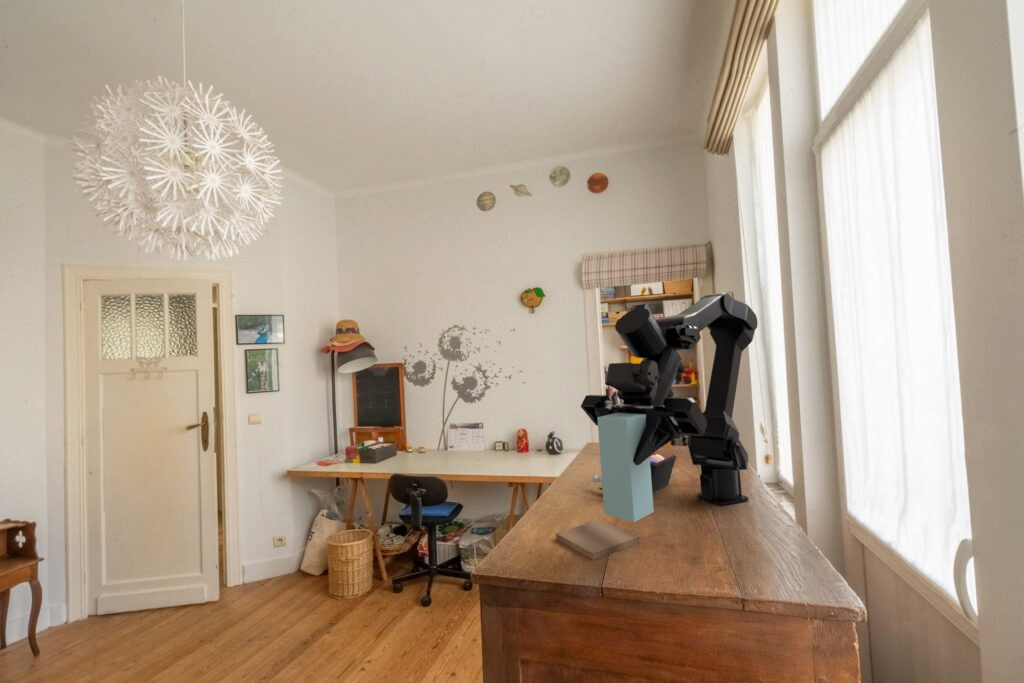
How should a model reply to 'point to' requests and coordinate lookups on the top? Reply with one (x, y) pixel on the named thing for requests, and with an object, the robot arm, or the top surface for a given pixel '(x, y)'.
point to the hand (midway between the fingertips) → (619, 460)
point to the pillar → (624, 467)
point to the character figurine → (660, 471)
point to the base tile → (597, 539)
